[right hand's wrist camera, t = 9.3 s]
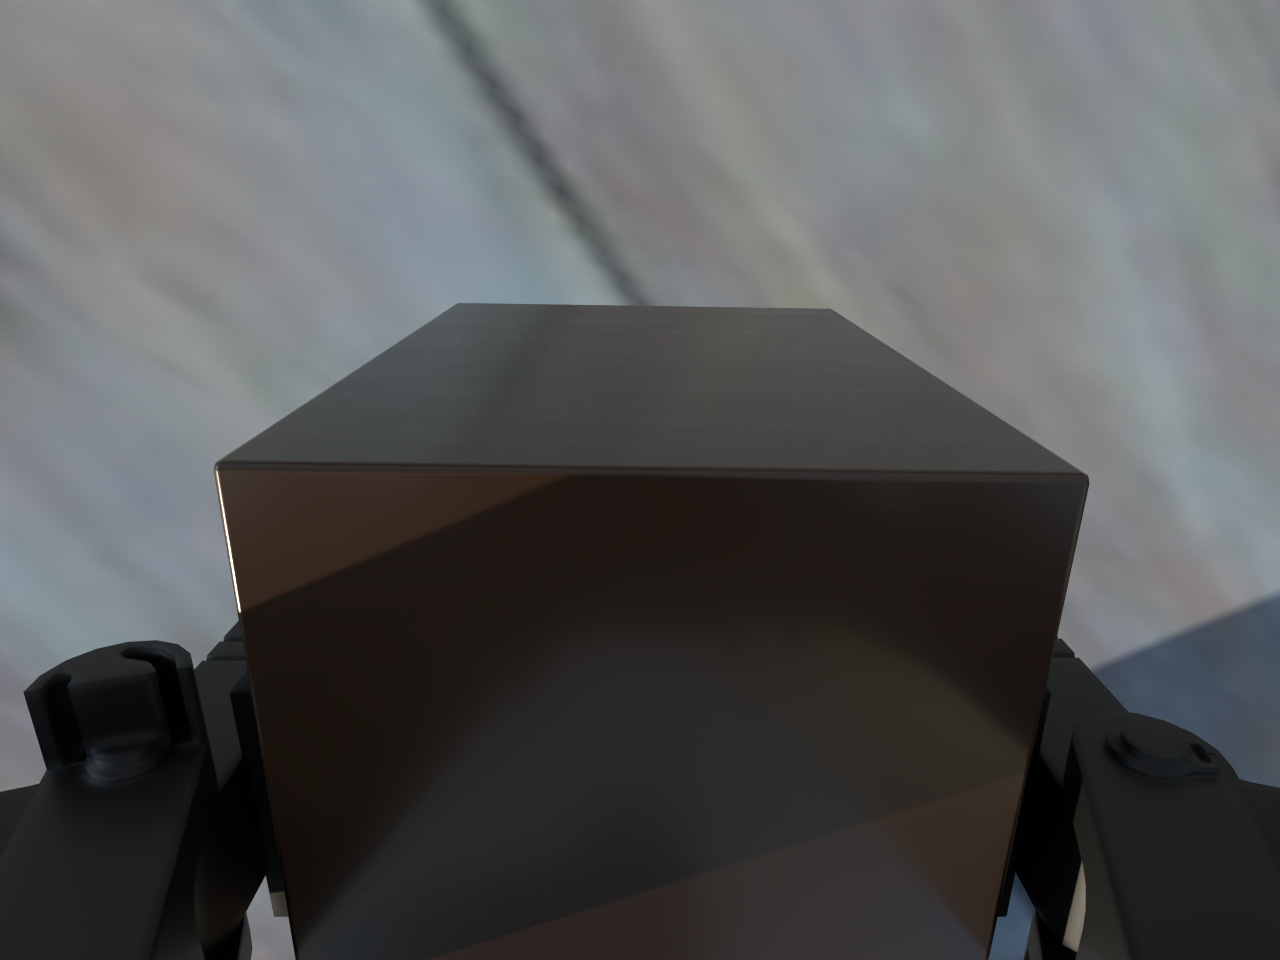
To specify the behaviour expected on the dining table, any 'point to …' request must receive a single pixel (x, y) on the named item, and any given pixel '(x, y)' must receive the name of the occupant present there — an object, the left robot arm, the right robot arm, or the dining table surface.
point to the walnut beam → (646, 641)
